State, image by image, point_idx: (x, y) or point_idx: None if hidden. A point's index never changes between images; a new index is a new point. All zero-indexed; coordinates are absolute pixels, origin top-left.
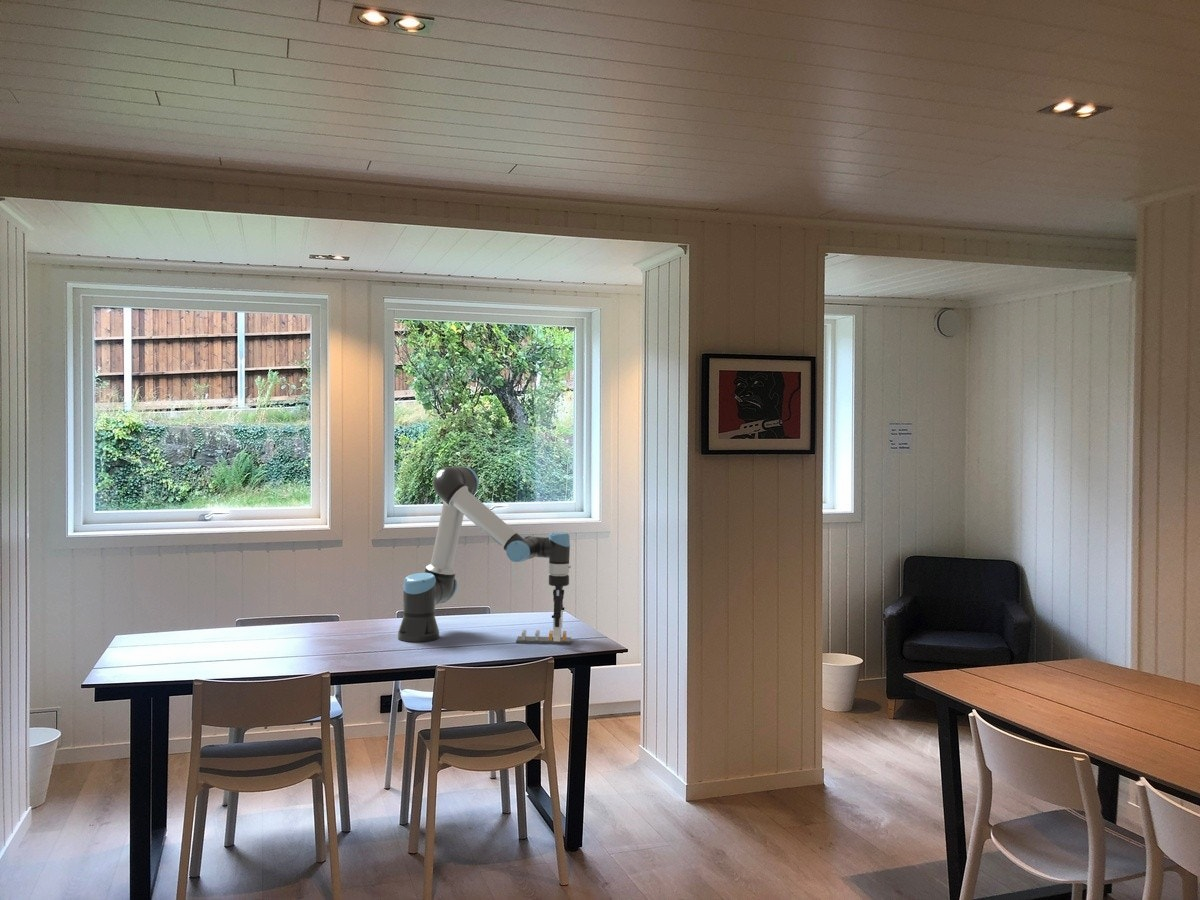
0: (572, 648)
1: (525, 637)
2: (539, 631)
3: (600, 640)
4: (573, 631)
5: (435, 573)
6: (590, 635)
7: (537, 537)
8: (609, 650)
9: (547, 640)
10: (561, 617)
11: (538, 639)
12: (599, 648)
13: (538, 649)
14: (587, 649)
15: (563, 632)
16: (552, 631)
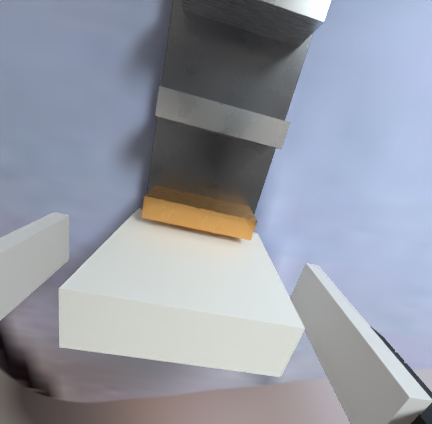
0: (62, 273)
1: (234, 21)
2: (252, 141)
3: (211, 380)
4: (397, 325)
5: None
6: (303, 365)
7: None
8: (42, 381)
9: (161, 178)
10: (250, 372)
11: (164, 119)
12: (73, 360)
13: (12, 92)
14: (49, 322)
15: None
16: (223, 232)
